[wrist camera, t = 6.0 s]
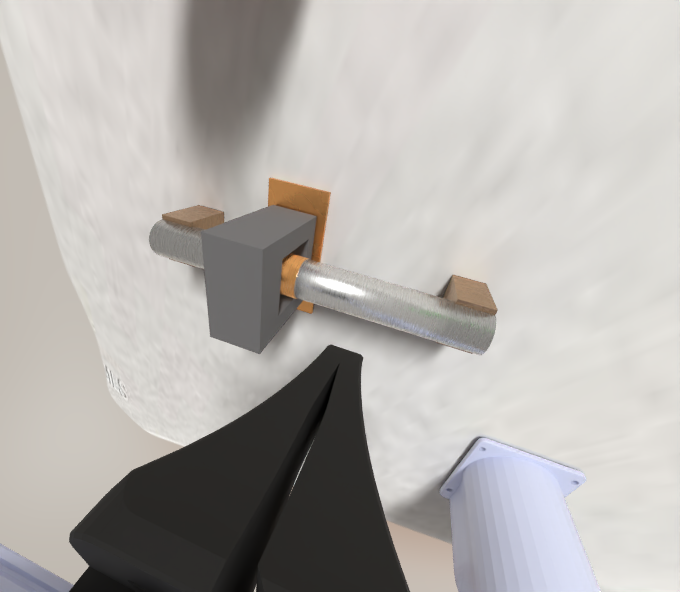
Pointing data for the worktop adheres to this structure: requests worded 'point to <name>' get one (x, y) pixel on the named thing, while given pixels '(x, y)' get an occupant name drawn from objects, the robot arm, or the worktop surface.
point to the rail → (345, 277)
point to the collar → (252, 273)
